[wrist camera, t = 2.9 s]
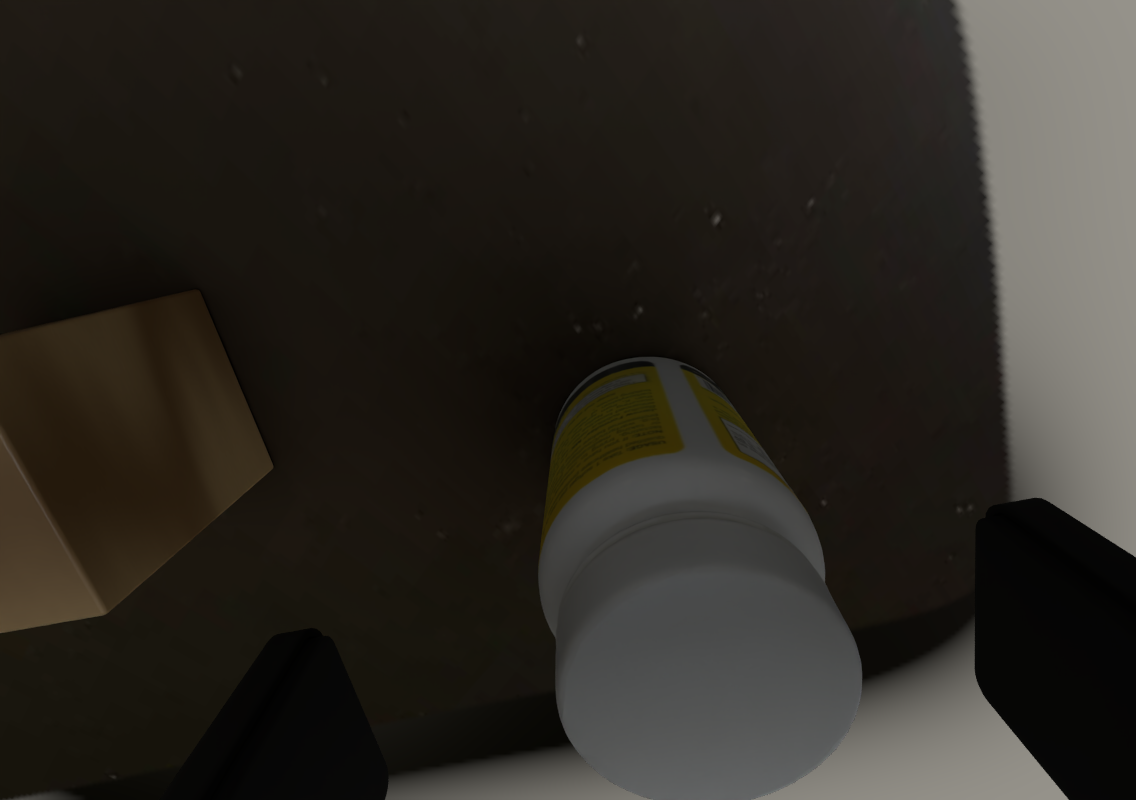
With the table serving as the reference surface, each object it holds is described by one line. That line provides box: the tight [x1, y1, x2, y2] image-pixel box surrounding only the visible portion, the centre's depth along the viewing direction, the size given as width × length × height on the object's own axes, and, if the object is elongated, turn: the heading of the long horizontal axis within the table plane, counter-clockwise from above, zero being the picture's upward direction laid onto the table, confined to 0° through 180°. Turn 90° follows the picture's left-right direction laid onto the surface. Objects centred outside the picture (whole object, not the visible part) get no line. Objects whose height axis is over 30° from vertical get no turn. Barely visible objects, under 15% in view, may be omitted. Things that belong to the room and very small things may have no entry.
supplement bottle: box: [538, 357, 862, 800], centre depth 11 cm, size 5×5×8 cm
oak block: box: [0, 289, 273, 633], centre depth 13 cm, size 5×5×6 cm
